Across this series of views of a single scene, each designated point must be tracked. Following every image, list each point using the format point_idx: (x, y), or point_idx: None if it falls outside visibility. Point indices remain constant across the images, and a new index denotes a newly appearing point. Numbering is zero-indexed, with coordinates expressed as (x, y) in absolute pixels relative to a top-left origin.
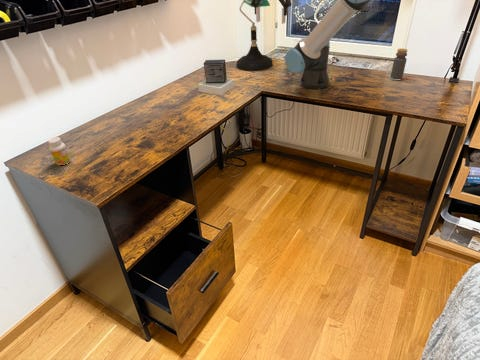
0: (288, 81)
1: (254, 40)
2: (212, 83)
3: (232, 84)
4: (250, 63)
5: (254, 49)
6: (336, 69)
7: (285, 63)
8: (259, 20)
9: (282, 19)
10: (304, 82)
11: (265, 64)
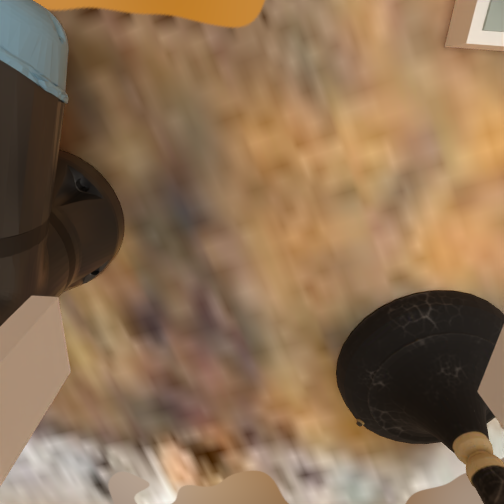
0: (186, 215)
1: (481, 465)
2: None
3: (462, 11)
4: (439, 326)
5: (455, 416)
6: (56, 404)
7: (60, 24)
8: (492, 383)
9: (7, 335)
10: (66, 163)
11: (361, 349)
